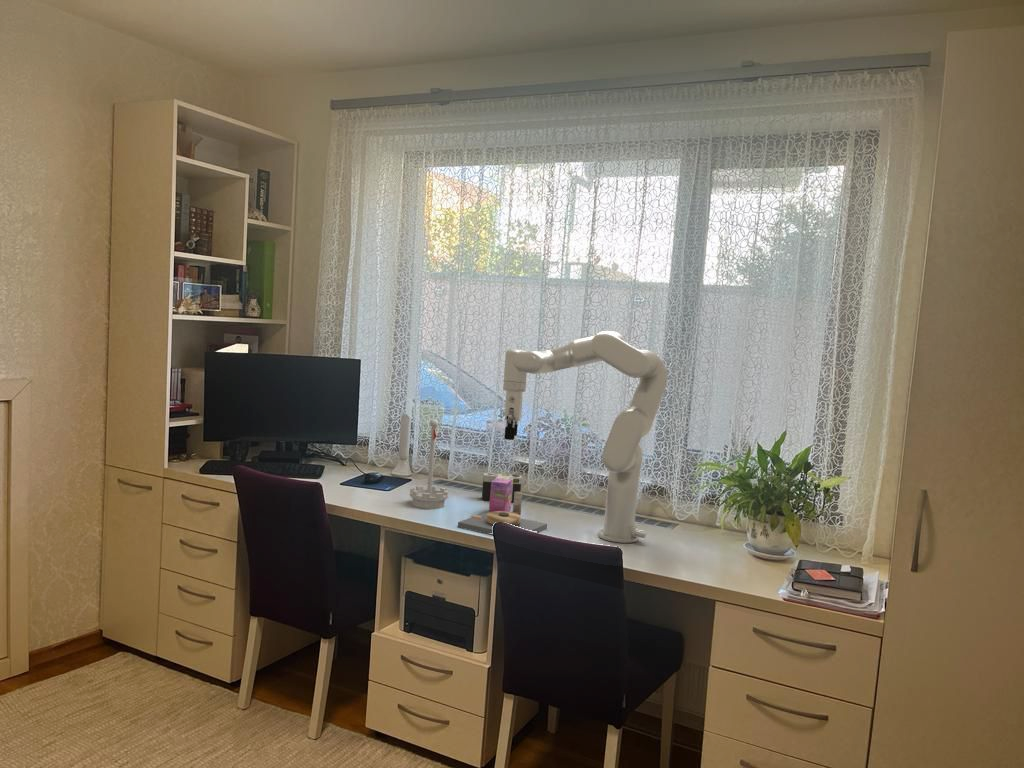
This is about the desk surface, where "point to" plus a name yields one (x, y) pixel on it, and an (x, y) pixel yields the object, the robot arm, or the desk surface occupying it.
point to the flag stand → (429, 482)
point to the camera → (491, 476)
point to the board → (483, 526)
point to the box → (501, 494)
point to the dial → (507, 513)
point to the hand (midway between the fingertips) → (510, 437)
